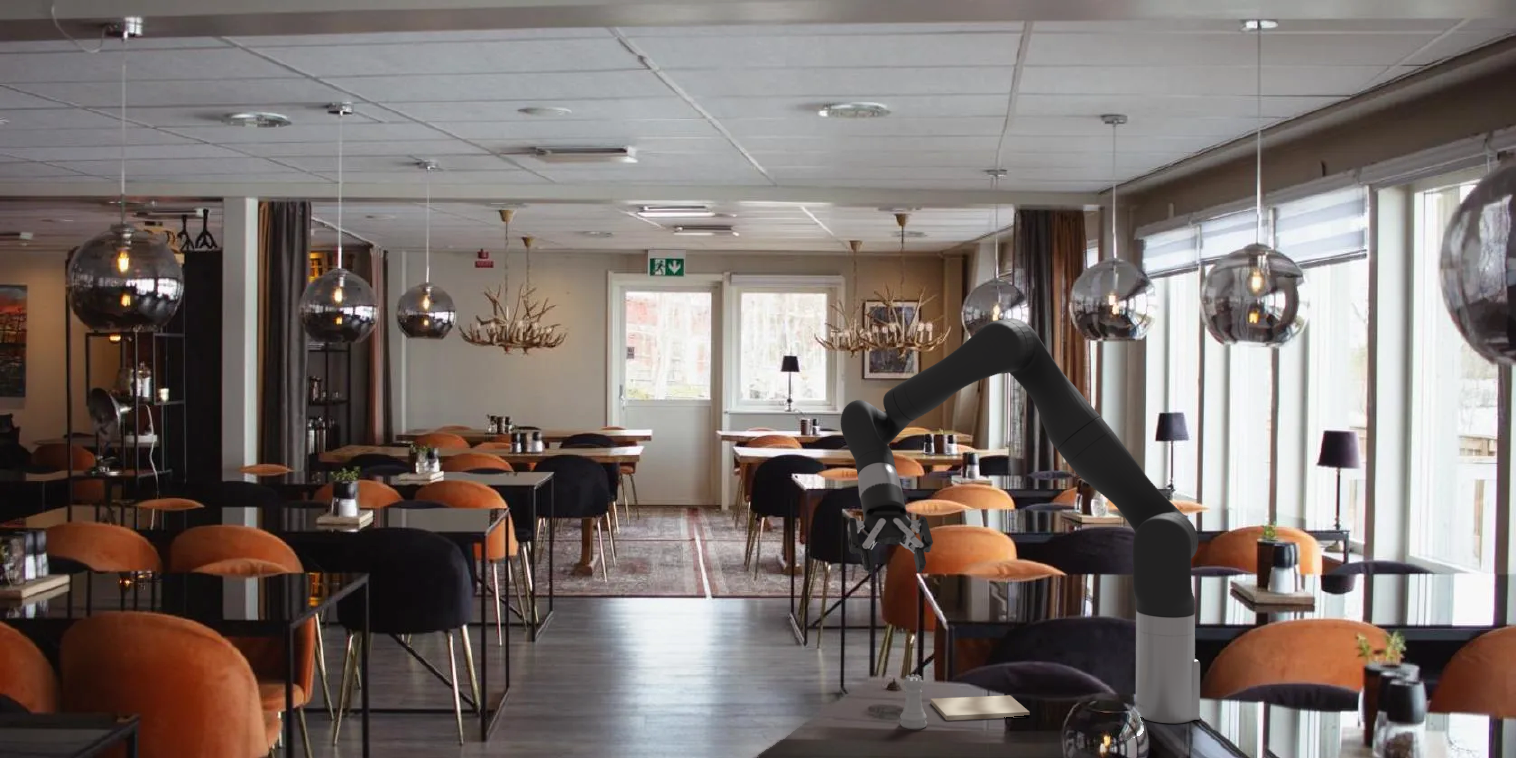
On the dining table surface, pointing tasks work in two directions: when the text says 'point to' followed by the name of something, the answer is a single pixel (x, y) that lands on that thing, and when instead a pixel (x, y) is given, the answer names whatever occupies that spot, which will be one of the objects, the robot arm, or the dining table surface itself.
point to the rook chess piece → (913, 704)
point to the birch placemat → (978, 707)
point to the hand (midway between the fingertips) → (896, 570)
